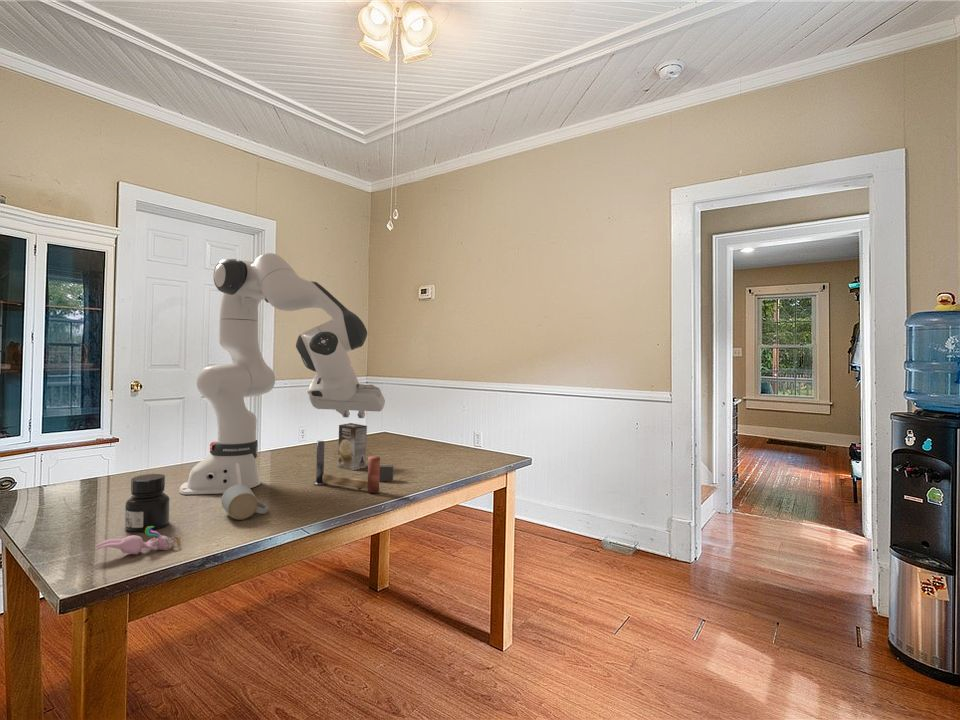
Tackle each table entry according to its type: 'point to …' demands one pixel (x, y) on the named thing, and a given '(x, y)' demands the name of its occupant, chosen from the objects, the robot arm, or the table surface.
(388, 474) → the catch block
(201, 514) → the table surface
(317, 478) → the hinge post
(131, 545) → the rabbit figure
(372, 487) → the gate
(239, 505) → the ceramic mug
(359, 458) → the coffee box
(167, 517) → the ink bottle
